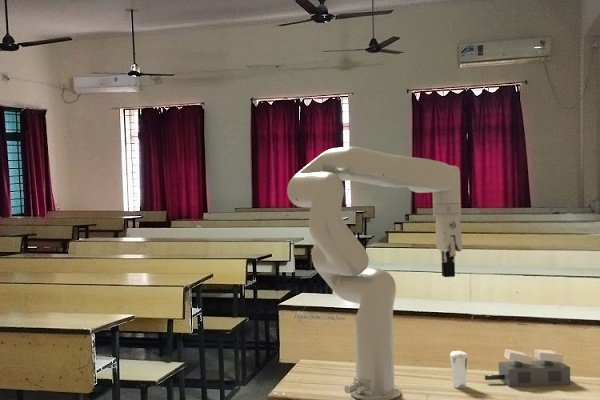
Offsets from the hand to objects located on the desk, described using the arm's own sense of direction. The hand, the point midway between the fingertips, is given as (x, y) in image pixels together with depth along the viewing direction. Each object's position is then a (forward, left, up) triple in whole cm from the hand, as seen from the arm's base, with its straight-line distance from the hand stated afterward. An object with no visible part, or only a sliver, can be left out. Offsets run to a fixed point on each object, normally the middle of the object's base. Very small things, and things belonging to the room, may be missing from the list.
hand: (448, 276), depth 166 cm
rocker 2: (+11, -23, -20) cm, 32 cm away
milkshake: (-8, -8, -27) cm, 30 cm away
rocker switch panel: (+6, -18, -27) cm, 33 cm away
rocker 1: (+5, -17, -20) cm, 27 cm away
